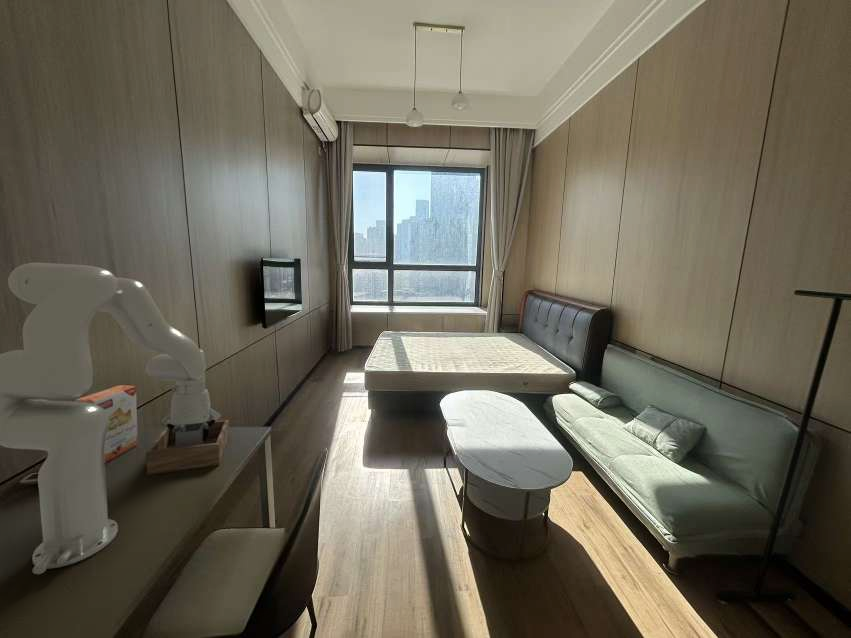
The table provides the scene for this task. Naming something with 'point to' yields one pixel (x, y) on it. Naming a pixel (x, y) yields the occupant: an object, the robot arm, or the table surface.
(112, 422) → the cracker box
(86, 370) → the robot arm
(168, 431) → the big crate
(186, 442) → the small crate
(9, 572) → the table surface
